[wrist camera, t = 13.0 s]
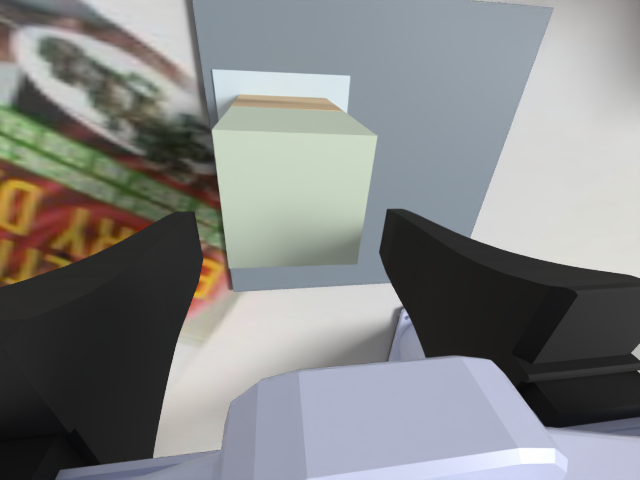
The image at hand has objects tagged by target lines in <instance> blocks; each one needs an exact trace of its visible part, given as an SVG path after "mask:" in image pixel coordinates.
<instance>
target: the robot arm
mask: <svg viewBox="0 0 640 480" xmlns="http://www.w3.org/2000/svg"><path fill="white" fill-rule="evenodd" d="M379 254H380V257H381V260H382V264H383V266H384V269H385V272H386V274H387V276H388V278H389V280H390V282H391V284H392V286H393V288H394V289H395V291H396V293H397V295H398V297H399V299H400V301H401V303H402V304H403V306H404V308H403V309H402V311H401V314H400V317H399V321H398V325H397V329H396V333H395V336H394V340H393V344H392V348H391V352H390V356H389V359H388V362H378V363H367V364H357V365H346V366H335V367H324V368H313V369H302V370H296V371H292V372H288V373H284V374H280V375H276V376H272V377H269V378H265V379H262V380H261V381H259V382H258V383H257V384H255V385H254V386H253V387H251V388H250V389H248V390H247V391H246V392H244V393H243V394H242V395H240V396H239V397H238V398H236V399H235V400H233V401H232V402H231V404H230V407H229V411H228V414H227V418H226V422H225V426H224V434H223V441H222V449H221V450H216V451H208V452H200V453H192V454H184V455H176V456H168V457H160V458H153V453H154V447H155V441H156V435H157V430H158V425H159V420H160V415H161V410H162V404H163V399H164V395H165V390H166V386H167V381H168V377H169V372H170V368H171V364H172V359H173V355H174V351H175V347H176V343H177V340H178V337H179V334H180V331H181V328H182V325H183V323H184V320H185V317H186V315H187V312H188V309H189V307H190V304H191V301H192V299H193V296H194V293H195V290H196V288H197V285H198V282H199V278H200V273H201V268H202V263H203V255H202V250H201V245H200V240H199V234H198V229H197V224H196V219H195V214H194V212H175V213H172V214H170V215H168V216H166V217H164V218H162V219H161V220H159V221H157V222H155V223H154V224H152V225H150V226H148V227H147V228H145V229H143V230H141V231H140V232H138V233H136V234H134V235H132V236H130V237H128V238H127V239H125V240H123V241H121V242H119V243H117V244H115V245H113V246H111V247H109V248H107V249H105V250H103V251H101V252H99V253H96V254H94V255H92V256H90V257H87V258H85V259H82V260H80V261H78V262H75V263H73V264H70V265H68V266H65V267H62V268H59V269H56V270H53V271H50V272H48V273H45V274H42V275H39V276H36V277H33V278H30V279H27V280H24V281H21V282H17V283H14V284H11V285H7V286H4V287H1V288H0V480H640V373H639V372H638V371H637V370H640V360H638V359H637V358H636V357H635V356H634V355H633V354H631V352H632V351H633V350H634V349H635V348H636V347H637V345H638V344H639V343H640V278H637V277H634V276H631V275H626V274H619V273H612V272H605V271H598V270H591V269H584V268H578V267H573V266H568V265H562V264H557V263H552V262H548V261H543V260H539V259H535V258H531V257H527V256H523V255H519V254H516V253H512V252H508V251H505V250H502V249H499V248H496V247H493V246H490V245H487V244H484V243H481V242H478V241H476V240H473V239H471V238H468V237H466V236H463V235H461V234H459V233H456V232H454V231H452V230H449V229H447V228H445V227H443V226H441V225H439V224H437V223H434V222H432V221H430V220H428V219H426V218H424V217H422V216H420V215H418V214H415V213H413V212H411V211H408V210H405V209H387V211H386V217H385V222H384V228H383V233H382V239H381V244H380V249H379ZM405 316H406V317H405Z"/></svg>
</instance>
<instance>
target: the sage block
mask: <svg viewBox="0 0 640 480" xmlns="http://www.w3.org/2000/svg"><path fill="white" fill-rule="evenodd" d="M212 135H213V143H214V151H215V159H216V168H217V176H218V184H219V192H220V201H221V209H222V217H223V225H224V233H225V242H226V250H227V258H228V266H229V268H258V267H290V266H321V265H352V264H357V262H358V255H359V249H360V243H361V237H362V230H363V224H364V218H365V211H366V205H367V199H368V193H369V186H370V180H371V174H372V168H373V161H374V155H375V149H376V142H377V135H376V134H374V133H373V132H372V131H370V130H369V129H368V128H366V127H365V126H363V125H362V124H361V123H359V122H358V121H357V120H355V119H354V118H353V117H351V116H350V115H348V114H347V113H346V112H344V111H324V110H304V109H284V108H263V107H243V106H231V107H230V109H229V110H228V111H227V112H226V113H225V115H224V116H223V117H222V118H221V119H220V121H219V122H218V123H217V124H216V125H215V127H214V128H213V129H212Z"/></svg>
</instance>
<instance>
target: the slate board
mask: <svg viewBox="0 0 640 480" xmlns="http://www.w3.org/2000/svg"><path fill="white" fill-rule="evenodd" d="M192 3H193V10H194V17H195V24H196V31H197V38H198V45H199V52H200V59H201V66H202V73H203V80H204V87H205V94H206V101H207V108H208V115H209V122H210V129H211V136H212V143H213V135H212V129H213V128H214V127H215V125H216V124H217V123H218V122H219V121H220V119H221V118H222V117H223V116H224V115H225V113H226V112H227V111H228V110H229V109H230V106H231V105H232V103H233V102H234V101H235V100H236V99H237V98H238V96H239V95H240V94H246V95H268V96H291V97H313V98H327V99H328V100H329V101H331V102H332V103H333V104H335V105H336V106H337V107H339V108H340V109H341V110H343V111H344V112H346V113H347V114H348V115H350V116H351V117H353V118H354V119H355V120H357V121H358V122H359V123H361V124H362V125H363V126H365V127H366V128H368V129H369V130H370V131H372V132H373V133H374V134H376V135H377V142H376V149H375V155H374V161H373V168H372V174H371V180H370V186H369V193H368V199H367V205H366V211H365V218H364V224H363V230H362V237H361V243H360V249H359V255H358V262H357V264H352V265H321V266H290V267H258V268H230V270H231V277H232V284H233V291H234V292H242V291H259V290H276V289H294V288H311V287H328V286H346V285H363V284H380V283H391V282H390V280H389V278H388V276H387V274H386V272H385V269H384V266H383V264H382V260H381V257H380V254H379V249H380V244H381V239H382V233H383V228H384V222H385V217H386V211H387V209H405V210H408V211H411V212H413V213H415V214H418V215H420V216H422V217H424V218H426V219H428V220H430V221H432V222H434V223H437V224H439V225H441V226H443V227H445V228H447V229H449V230H452V231H454V232H456V233H459V234H461V235H463V236H466V237H468V238H470V236H471V234H472V231H473V228H474V225H475V223H476V220H477V217H478V214H479V212H480V209H481V206H482V203H483V201H484V198H485V195H486V192H487V190H488V187H489V184H490V182H491V179H492V176H493V173H494V171H495V168H496V165H497V162H498V160H499V157H500V154H501V151H502V149H503V146H504V143H505V140H506V138H507V135H508V132H509V129H510V127H511V124H512V121H513V118H514V116H515V113H516V110H517V107H518V105H519V102H520V99H521V96H522V94H523V91H524V88H525V85H526V83H527V80H528V77H529V74H530V72H531V69H532V66H533V63H534V61H535V58H536V55H537V53H538V50H539V47H540V44H541V42H542V39H543V36H544V33H545V31H546V28H547V25H548V22H549V20H550V17H551V14H552V11H553V9H554V8H551V7H540V6H529V5H518V4H506V3H495V2H484V1H473V0H192ZM213 151H214V143H213ZM214 158H215V151H214ZM215 165H216V159H215ZM216 172H217V168H216ZM217 179H218V176H217ZM218 186H219V184H218ZM219 193H220V192H219Z"/></svg>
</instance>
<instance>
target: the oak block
mask: <svg viewBox="0 0 640 480" xmlns="http://www.w3.org/2000/svg"><path fill="white" fill-rule="evenodd" d="M231 106H243V107H263V108H284V109H304V110H324V111H343V110H341V109H340V108H339V107H337V106H336V105H335V104H333V103H332V102H331V101H329V100H328V99H327V98H313V97H291V96H268V95H246V94H240V95H239V96H238V98H237V99H236V100H235V101H234V102H233V103H232V105H231ZM231 106H230V107H231Z"/></svg>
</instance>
